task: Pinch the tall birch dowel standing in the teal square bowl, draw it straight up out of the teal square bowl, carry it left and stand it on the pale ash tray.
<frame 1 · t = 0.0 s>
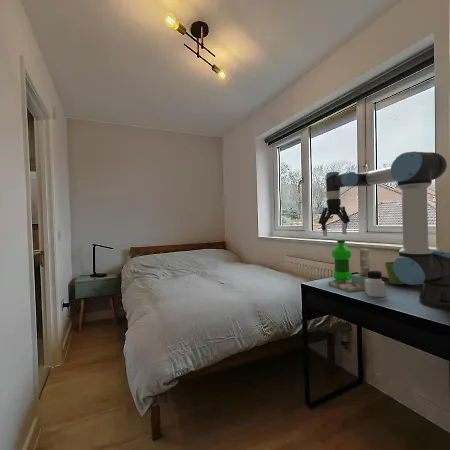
hand: (334, 235, 160), 28 cm above the table, fingers open, 13 cm apart
plant pot: (396, 283, 153), on the table
tray: (347, 287, 148), on the table
medicine bottle: (375, 295, 134), on the table
plastic bottle: (342, 281, 162), on the table
teal square bowl: (365, 286, 150), on the table
dowel: (365, 285, 150), resting on teal square bowl
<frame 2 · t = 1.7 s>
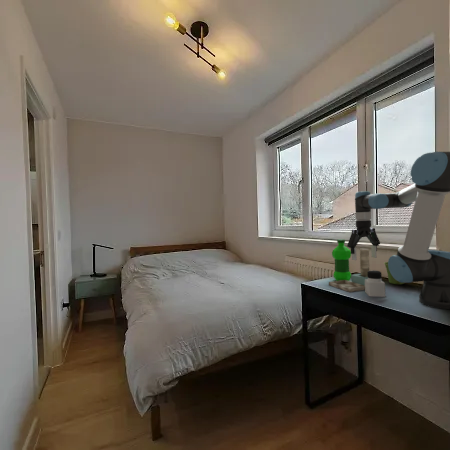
hand: (364, 258, 150), 15 cm above the table, fingers open, 13 cm apart
nothing on the table moved.
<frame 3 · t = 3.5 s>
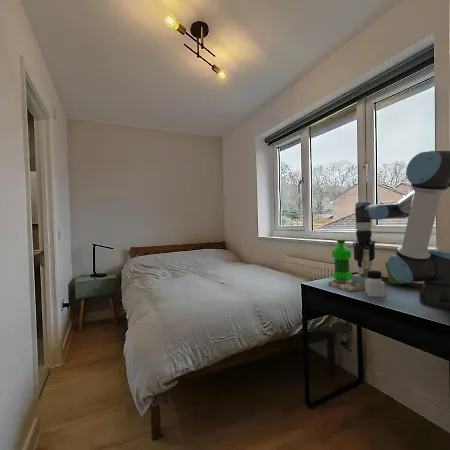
hand: (365, 272, 149), 8 cm above the table, fingers closed on dowel, 4 cm apart
dowel: (365, 285, 150), point 1 cm above the table, touching teal square bowl, gripper
everything else where it was.
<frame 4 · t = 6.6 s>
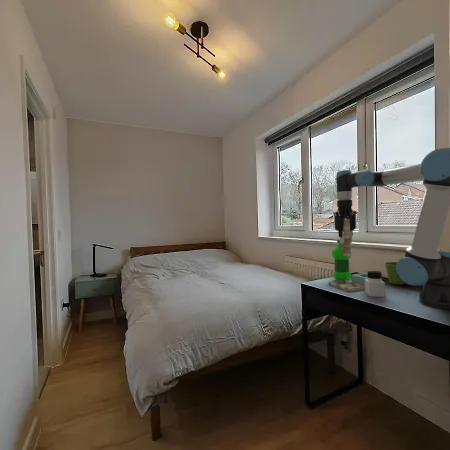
hand: (345, 242, 148), 25 cm above the table, fingers closed on dowel, 4 cm apart
dowel: (346, 255, 148), point 18 cm above the table, touching gripper
everything else where it was.
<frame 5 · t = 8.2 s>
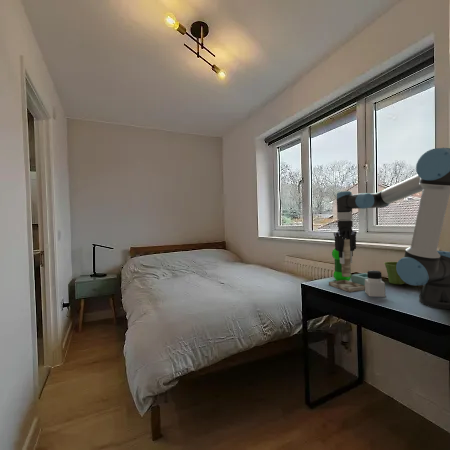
hand: (346, 263, 148), 14 cm above the table, fingers closed on dowel, 4 cm apart
dowel: (346, 276, 148), point 6 cm above the table, touching gripper
everything else where it was.
when the fingers open (9 cm above the table, at t = 9.6 s): dowel drops 1 cm, resting on tray.
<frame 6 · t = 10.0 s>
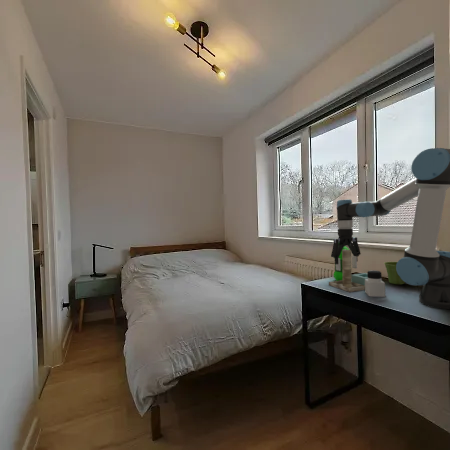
hand: (346, 269, 148), 10 cm above the table, fingers open, 10 cm apart
dowel: (347, 286, 148), point 1 cm above the table, touching tray
everything else where it was.
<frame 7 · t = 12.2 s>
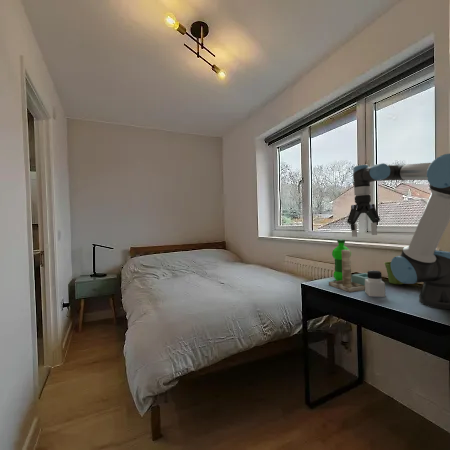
hand: (364, 235, 143), 28 cm above the table, fingers open, 13 cm apart
nothing on the table moved.
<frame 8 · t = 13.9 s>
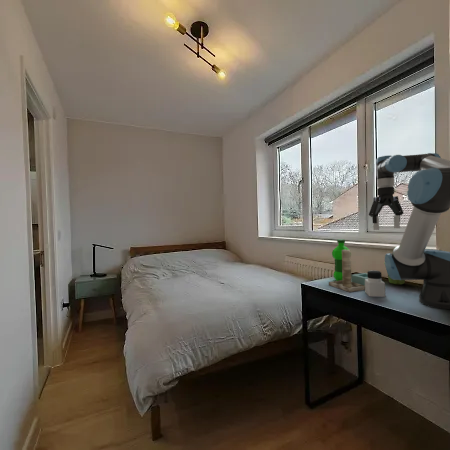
hand: (386, 229, 139), 32 cm above the table, fingers open, 13 cm apart
nothing on the table moved.
at the end: dowel inside the target area on the tray (0.0 cm from its centre), point 0.6 cm above the tray's base; dowel tilted 1°; the gripper is holding nothing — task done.
